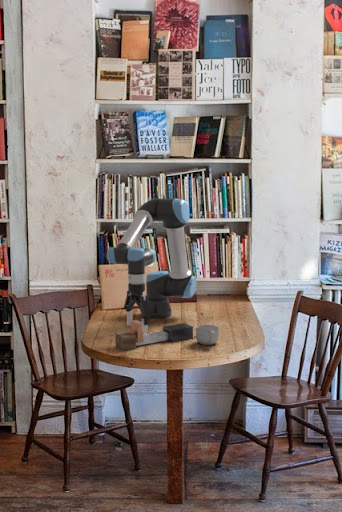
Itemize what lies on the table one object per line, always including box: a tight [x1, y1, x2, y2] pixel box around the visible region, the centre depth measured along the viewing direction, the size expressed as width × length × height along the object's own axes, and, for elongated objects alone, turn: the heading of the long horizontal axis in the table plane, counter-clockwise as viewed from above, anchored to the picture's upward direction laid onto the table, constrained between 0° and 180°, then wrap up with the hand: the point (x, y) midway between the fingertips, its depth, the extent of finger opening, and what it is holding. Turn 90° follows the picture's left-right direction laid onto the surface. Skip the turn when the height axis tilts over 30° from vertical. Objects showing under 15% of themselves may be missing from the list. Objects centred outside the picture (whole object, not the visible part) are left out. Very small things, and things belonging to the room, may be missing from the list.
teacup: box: [195, 323, 220, 346], centre depth 337 cm, size 14×11×8 cm
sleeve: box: [161, 322, 194, 343], centre depth 348 cm, size 8×12×6 cm, turn 123°
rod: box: [130, 319, 170, 347], centre depth 340 cm, size 6×28×11 cm, turn 123°
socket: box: [114, 330, 137, 352], centre depth 333 cm, size 8×6×6 cm
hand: (137, 328), depth 335 cm, fingers open, 13 cm apart
